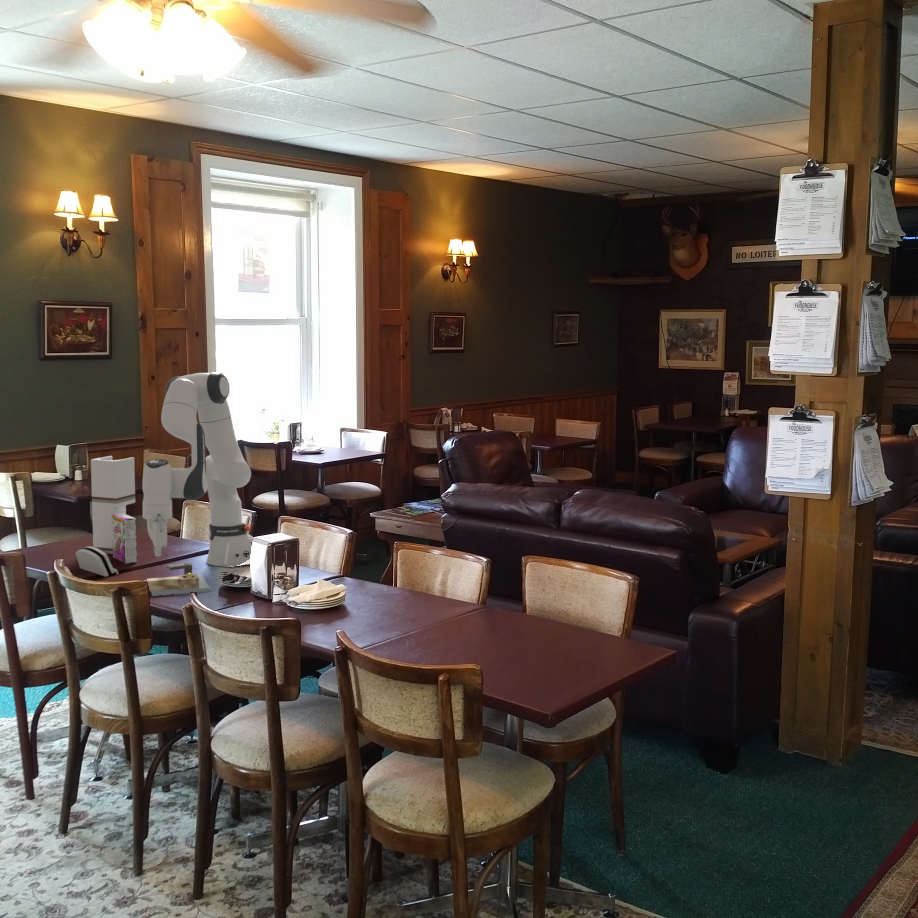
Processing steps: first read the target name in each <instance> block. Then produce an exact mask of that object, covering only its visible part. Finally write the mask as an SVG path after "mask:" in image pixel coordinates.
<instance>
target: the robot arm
mask: <svg viewBox="0 0 918 918" xmlns="http://www.w3.org/2000/svg"><path fill="white" fill-rule="evenodd" d="M164 389H165V390H164V391H165V397H164V400H163V405H162V409H161V414H160V415H161V417H160V421H161V425H162V427H163V428H164V430H165V432H167V433H168V434H170V435H171V436H172V437H175V438H177V439H179V440H182V441H185V442H186V443H188V444H189V445H190V447H191V449H190V450H191V466H189V467H171V463H170V461H169V460H167V459H162V458H161V459H160V458H157V459H150V460H148V461H147V462H145V464H144V467H143V473H142V492H143V498H142V499H143V500H142V518H143V519H145V520H146V525H147V526H146V527H147V532H148V536H149V537H150V540H151V541H152V544H153V554H154V556H155V557H156V558H157V557H161V556H162V548H167V546H168V527H167V524H168V523H169V520H170V519H172V518H173V500H172V499H186V500H193V501H198V500H199V499H201V498H202V497H204V496H205V495H206V493H207V494H208V500H209V513H210V514H209V515H210V517H209V519H210V523H209V526H208V538H209V549H208V554H207V558H206V561H205V563H206V564H208V565H210V566H215V567H225V568H229V567H231V566H237V565H240V564H242V563H244V562H246V561H247V560H249V559H250V554H251V542H252V539H253V538H254V537H253V535H252V534H249V533H248V532H250V531H251V526H250V525H247V524H245V523H243V522H242V521H243V520H242V519H243V512H242V509H243V507H242V504H243V503H242V500H241V498H240V496H239V494H238V490H237V489H239V488H243V487H245V486H246V485H248V483H249V482H250V480H251V476H252V470H251V467H250V466H249V464H248V463H247V461H246V460H245V458H244V456H243V453H242V450H241V448H240V446H239V443H238V441H237V438H236V434H235V430H234V425H233V419H232V417H231V416H232V415H231V412H230V407H229V403H228V401H227V399H228V397H229V395H230V383H229V380H228V378H227V377H226V376H225V375H224V374H223V373H222V372H216V371H211V372H197V373H196V372H195V373H192V374H191V373H190V374H186V375H182V376H180V375H177V376H173V377H172V378H170V379H169V380H168V381H167V383H166V385H165V388H164ZM197 415H198V418H197ZM206 448H207V450H208V452H209V455H207V454H206V453H207V452H206ZM206 455H207V456H206Z"/></svg>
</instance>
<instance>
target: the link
mask: <svg viewBox="0 0 918 918" xmlns="http://www.w3.org/2000/svg"><path fill="white" fill-rule="evenodd" d="M197 575H198V574H197V573H192V578H186V575H184V574H179V575H177V576H165V577H150V578H146V579H147V582H148V585H149V590H150V591H154V590H166V589H178V588H180V589H191V588H199V577H198V576H197ZM150 591H149V592H150Z"/></svg>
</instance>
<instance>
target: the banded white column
mask: <svg viewBox="0 0 918 918" xmlns="http://www.w3.org/2000/svg"><path fill="white" fill-rule="evenodd" d="M135 467H136V466H135V457H128V458H123V459H114V460H113V456H112V455H108V456H103V457H96V458H92V459H90V476H91V482H90V483H91V510H92V511H91V512H92V545H93V546H92V547H95V548H98V549H99V550H101V551H103V552H104V553H106V554H107V555H108V554H109V555H110V554H111V555H113V540H112V515H113V514H121V513H124V514H127V506H128V505H132V504H135V503H136V477H135V475H136V474H135Z"/></svg>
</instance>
